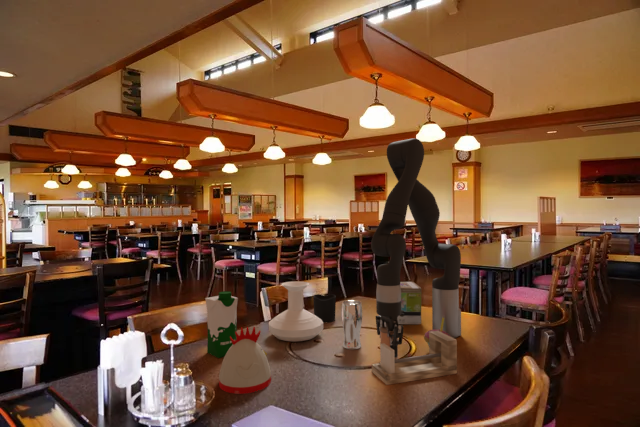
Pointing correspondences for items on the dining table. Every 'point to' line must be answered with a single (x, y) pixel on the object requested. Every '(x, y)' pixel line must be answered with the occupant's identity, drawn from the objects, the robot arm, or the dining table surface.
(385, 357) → the pusher
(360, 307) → the beer glass
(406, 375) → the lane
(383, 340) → the jar
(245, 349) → the kitchen timer
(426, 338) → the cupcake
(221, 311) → the milk carton
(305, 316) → the white vase
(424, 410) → the dining table surface
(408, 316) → the tea box
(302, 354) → the dining table surface
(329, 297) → the pen holder
